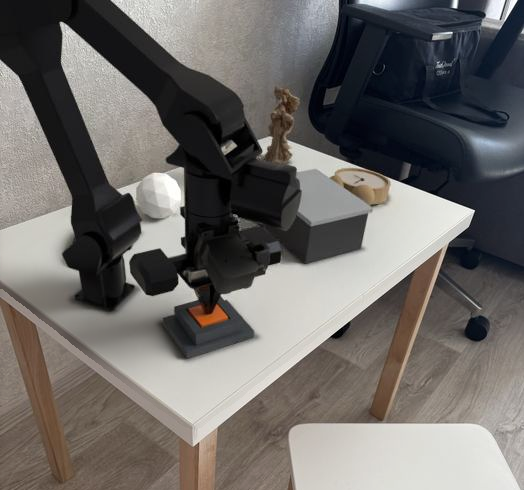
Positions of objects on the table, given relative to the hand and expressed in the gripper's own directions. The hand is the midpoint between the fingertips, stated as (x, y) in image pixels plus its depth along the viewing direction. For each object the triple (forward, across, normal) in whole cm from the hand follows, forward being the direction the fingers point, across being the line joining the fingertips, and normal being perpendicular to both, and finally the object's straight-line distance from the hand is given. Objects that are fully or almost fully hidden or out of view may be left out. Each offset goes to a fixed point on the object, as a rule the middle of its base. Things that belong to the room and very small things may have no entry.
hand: (207, 312), depth 77 cm
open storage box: (+3, +28, +17) cm, 33 cm away
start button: (+2, 0, 0) cm, 2 cm away
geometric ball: (+3, +7, +33) cm, 34 cm away
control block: (+3, 0, 0) cm, 3 cm away
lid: (-4, +28, +17) cm, 33 cm away
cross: (+3, +24, +41) cm, 48 cm away
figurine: (+3, +40, +46) cm, 61 cm away
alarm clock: (+3, +45, +25) cm, 52 cm away
